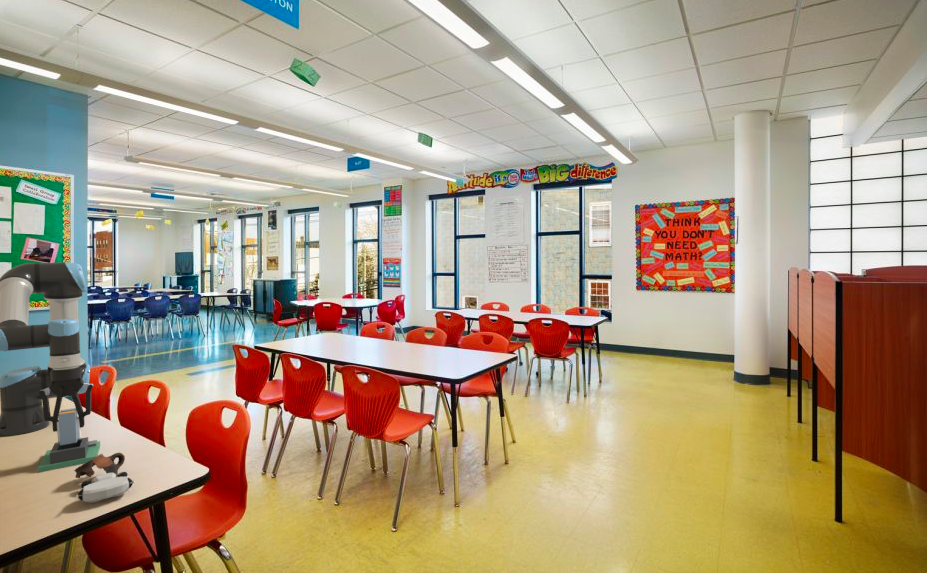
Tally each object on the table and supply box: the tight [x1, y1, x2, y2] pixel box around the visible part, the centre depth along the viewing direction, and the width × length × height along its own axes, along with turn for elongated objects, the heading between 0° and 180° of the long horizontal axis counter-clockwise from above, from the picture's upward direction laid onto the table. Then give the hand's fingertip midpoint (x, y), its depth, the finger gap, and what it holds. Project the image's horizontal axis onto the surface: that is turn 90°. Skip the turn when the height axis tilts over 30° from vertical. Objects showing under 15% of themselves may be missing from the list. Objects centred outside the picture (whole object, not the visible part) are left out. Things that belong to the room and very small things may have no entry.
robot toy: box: [76, 471, 135, 504], centre depth 128 cm, size 12×4×15 cm
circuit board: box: [37, 436, 101, 473], centre depth 152 cm, size 16×14×5 cm
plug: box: [58, 407, 79, 445], centre depth 150 cm, size 6×4×10 cm, turn 35°
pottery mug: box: [73, 452, 126, 479], centre depth 138 cm, size 12×10×8 cm
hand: (69, 438), depth 150 cm, fingers closed on plug, 4 cm apart
